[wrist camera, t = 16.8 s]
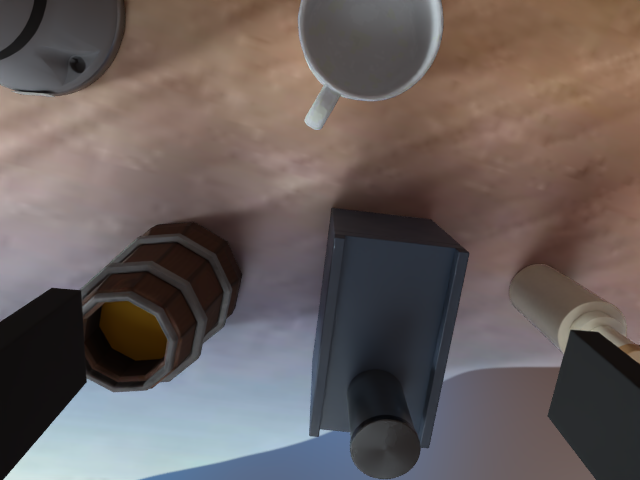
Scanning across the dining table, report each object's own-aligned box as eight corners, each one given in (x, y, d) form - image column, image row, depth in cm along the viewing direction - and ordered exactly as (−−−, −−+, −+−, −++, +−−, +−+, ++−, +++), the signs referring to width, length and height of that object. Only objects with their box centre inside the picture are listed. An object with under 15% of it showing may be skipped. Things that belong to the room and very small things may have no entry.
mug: (209, 203, 44) (153, 241, 30) (259, 308, 47) (230, 390, 33) (70, 259, 46) (-46, 322, 31) (127, 358, 49) (43, 458, 34)
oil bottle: (515, 260, 46) (609, 327, 31) (569, 267, 46) (688, 336, 31) (503, 311, 47) (587, 398, 32) (555, 317, 47) (664, 407, 32)
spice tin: (349, 365, 36) (355, 416, 30) (408, 371, 37) (426, 423, 30) (342, 416, 38) (346, 475, 31) (398, 422, 38) (414, 482, 31)
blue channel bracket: (331, 207, 44) (334, 237, 33) (431, 219, 45) (469, 252, 33) (312, 361, 49) (309, 436, 37) (403, 371, 49) (429, 448, 37)
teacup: (359, -53, 39) (368, -97, 31) (447, 38, 40) (476, 18, 33) (255, 74, 41) (239, 63, 34) (342, 155, 43) (346, 162, 35)
